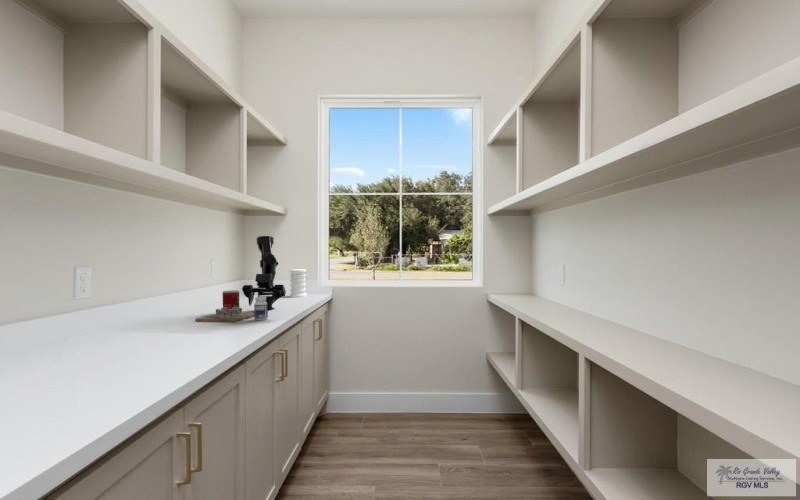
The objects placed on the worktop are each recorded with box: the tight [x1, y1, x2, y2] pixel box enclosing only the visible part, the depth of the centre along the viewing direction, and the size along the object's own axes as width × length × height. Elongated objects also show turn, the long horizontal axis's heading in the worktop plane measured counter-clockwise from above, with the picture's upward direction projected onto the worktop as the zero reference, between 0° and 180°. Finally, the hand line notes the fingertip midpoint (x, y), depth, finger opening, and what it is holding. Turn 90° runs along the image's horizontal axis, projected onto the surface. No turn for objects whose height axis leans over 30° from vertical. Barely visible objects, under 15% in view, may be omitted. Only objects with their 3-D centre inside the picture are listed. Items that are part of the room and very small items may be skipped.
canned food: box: [222, 289, 240, 309], centre depth 212 cm, size 8×8×11 cm
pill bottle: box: [253, 296, 269, 321], centre depth 189 cm, size 6×6×10 cm
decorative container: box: [289, 269, 308, 298], centre depth 286 cm, size 12×12×18 cm
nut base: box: [194, 306, 255, 323], centre depth 194 cm, size 20×20×4 cm
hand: (259, 305), depth 188 cm, fingers open, 9 cm apart
